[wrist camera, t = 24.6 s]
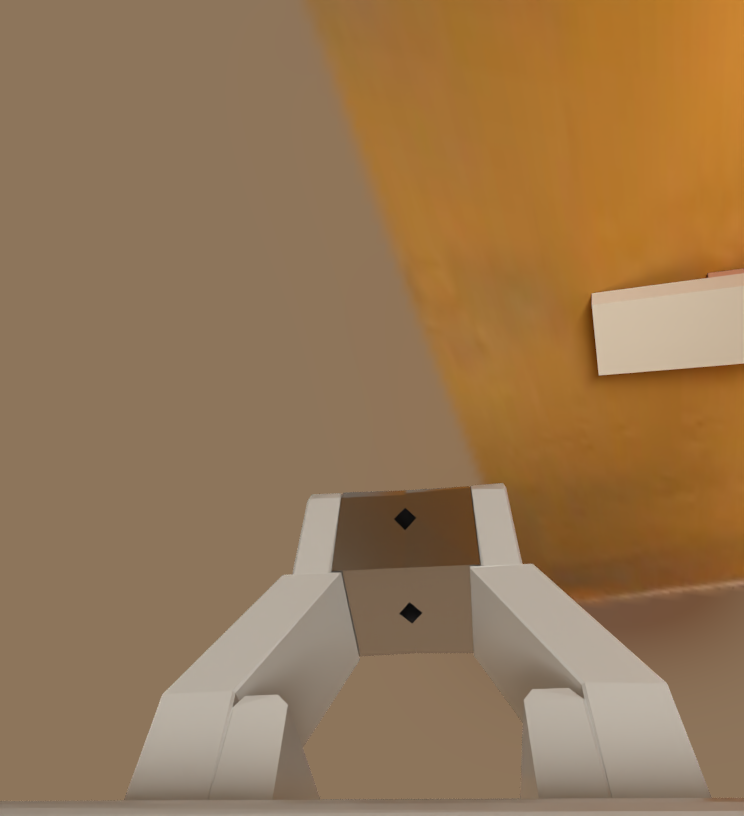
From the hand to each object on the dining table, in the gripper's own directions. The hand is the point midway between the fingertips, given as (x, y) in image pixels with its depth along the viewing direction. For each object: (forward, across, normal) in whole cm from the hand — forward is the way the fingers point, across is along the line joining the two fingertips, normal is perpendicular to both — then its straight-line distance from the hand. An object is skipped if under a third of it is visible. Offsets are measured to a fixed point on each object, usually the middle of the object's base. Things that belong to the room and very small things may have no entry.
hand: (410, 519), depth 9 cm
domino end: (+28, -11, +12) cm, 32 cm away
